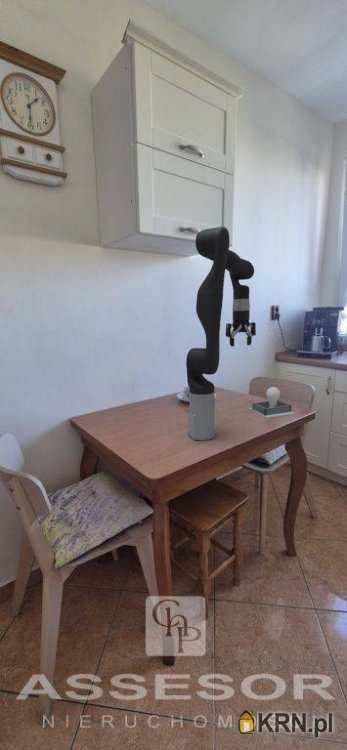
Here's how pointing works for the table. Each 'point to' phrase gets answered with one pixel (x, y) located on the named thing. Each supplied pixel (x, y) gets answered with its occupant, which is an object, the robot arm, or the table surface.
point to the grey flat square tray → (272, 409)
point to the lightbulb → (273, 396)
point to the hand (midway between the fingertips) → (240, 345)
